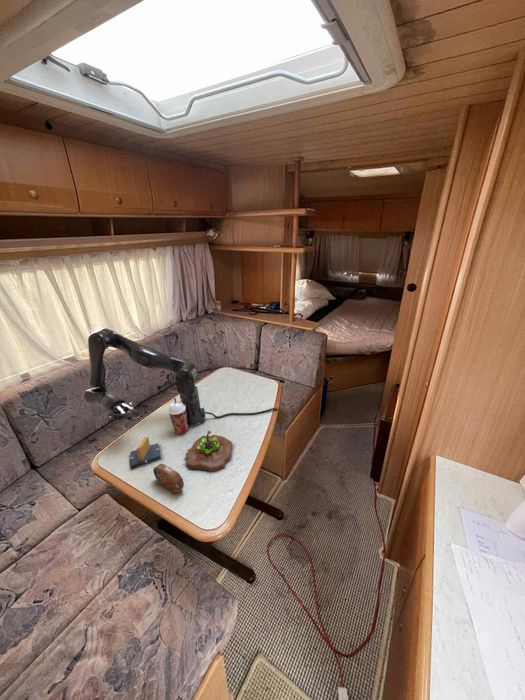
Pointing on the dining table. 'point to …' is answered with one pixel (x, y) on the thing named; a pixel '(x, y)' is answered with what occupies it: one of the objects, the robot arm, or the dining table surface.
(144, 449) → the tap lever
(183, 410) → the smoothie
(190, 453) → the plant
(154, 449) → the tap plate
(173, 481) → the tin
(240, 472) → the dining table surface
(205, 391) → the dining table surface
